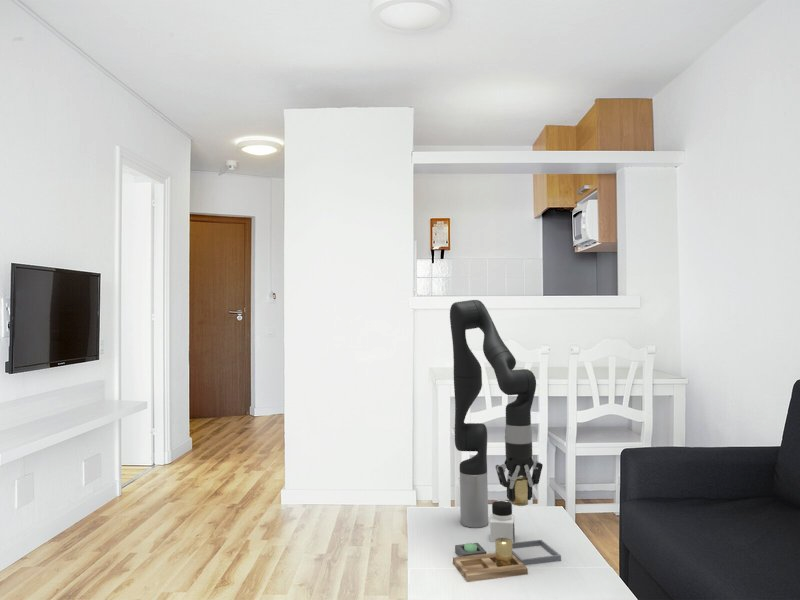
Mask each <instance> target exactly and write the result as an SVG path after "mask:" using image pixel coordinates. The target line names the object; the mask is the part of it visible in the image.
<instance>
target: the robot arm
mask: <svg viewBox="0 0 800 600" xmlns="http://www.w3.org/2000/svg"><path fill="white" fill-rule="evenodd" d="M449 322H450V332H451V340H452V351H453V355H452V356H453V388H454V391H453V392H454V404H455V405H454V445H455V446H454V447H455V448H456V451H459V452H477V453H476V454H475V455H474V456H472V457H470V458H467V459H465V460H463V461H461V462H460V463H459V502H460V503H459V504H460V505H459V507H460V511H459V512H460V524H461V525H463V526H464V527H468V528H473V529H474V528H475V529H476V528H483V527H486V526H487V525H489V497H488V496H489V494H488V493H489V491H488V490H489V489H488V486H489V485H488V484H489V483H488V457H487V455H488V428H487V426H486V425H485V423H479V422H478V423H476V422H474V423H473V422H466V423H465V420H466V416H467V413H468V411H470V408H471V407H472V405H473V403H474V401H475V400H477V397H478V395H479V394H480V392H481V390H482V387H483V376H482V375H483V374H482V373H483V372H482V366H481V364H480V362H479V360H478V359H477V357H476V356H475V354H474V353H473V351H472V349H470V347H469V344H468V341H467V336H466V334H467V333H466V331H467V330H472V329H473V330H474V329H478V328H479V330H480V331H482V333H483V342H482V350H483V355H484V357H485V359H486V360H487V362H488V363H489V365H490V366H491V368H492V369H493V372H494V374H495V376H496V381H497V384H498V388H499V390H500V391H501V392H502V393H503V394H505V395H507V396H516V399H515V400H514V401H512V402H510V403H508V404H506V406H505V428H504V429H505V430H504V435H505V436H504V444H505V448H504V449H505V460H504V463H502V464H496V465H495V470H496V473H497V477H498V480H499V484H500V485H501V486H503V488H506V497H507V498H506V499H508V502H510V503H512V502H514V489H513V487H514V483H515V481H516V479H517V477H519V476H522V477H525V478H526V479H528V501H531V499H532V498H533V486H534V485H539V483H540V480H541V475H542V471H543V463H541V462H540V461H534V460H533V433H532V432H533V431H532V418H531V417H532V416H531V415H532V414H531V413H532V411H531V409H532V406H533V401H534V397H535V394H536V389H537V380H536V379H537V378H536V376H535V374H534V373H533V371H531V369H528V368H527V369H526V368H524V369H523V368H522V369H515V368H516V364H517V360H516V358H515V355H514V354H513V353H512V352H511V351H510V350H509V348H508V346H507V345H506V344H505V342H504V341H503V339H502V338H501V336H500V334H499V332H498V330H497V327H496V325H495V323H494V321H493V319H492V316H491V315H490V313H489V310H488V309H487V307H486V305H485V304H484V302H482V301H481V300H479V299H469V300H462V301H461V300H460V301H456V302H453V303H452V304H451V305H450V309H449ZM506 469H507V471H508V472H507V476H506V474H505V473H506ZM532 469H533V470H532ZM531 470H532V473H531ZM506 477H507V478H506Z"/></svg>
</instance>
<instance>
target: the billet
mask: <svg viewBox="0 0 800 600" xmlns="http://www.w3.org/2000/svg"><path fill="white" fill-rule="evenodd" d="M513 489H514V502H511V504H512V506H513V505H514V506H518V507H524V506H527V505H529V500H528V479H526V478H525V477H523V476H519V477H517V479H516V481H515V483H514V487H513Z"/></svg>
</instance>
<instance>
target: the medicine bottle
mask: <svg viewBox="0 0 800 600" xmlns="http://www.w3.org/2000/svg"><path fill="white" fill-rule="evenodd" d="M491 509H492V510H491V511H492V512H491V514H490V520H489V535H490V536H489V540H490V542H492V543H495V540H496V539H498V538H508V539H511V540H512V543H515V535H516V534H515V533H516V532H515V515H514V514H513V504H512V502H511V501H509V500H508V501H507V500H503V499H501V500H498V499H497V500H495V501H493V502H492V503H491Z"/></svg>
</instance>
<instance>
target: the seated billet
mask: <svg viewBox="0 0 800 600" xmlns="http://www.w3.org/2000/svg"><path fill="white" fill-rule="evenodd" d="M494 543H495V545H494V546H495V548H494V549H495V552H494V553H496V566H497V567H502V566H510V565H513V554H512V551H513V549H512V540H511V539H508V538H498V539H496V540H495V542H494Z"/></svg>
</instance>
